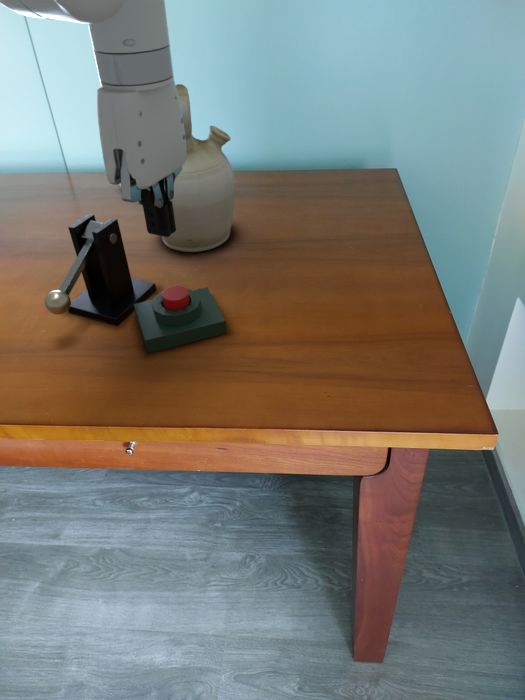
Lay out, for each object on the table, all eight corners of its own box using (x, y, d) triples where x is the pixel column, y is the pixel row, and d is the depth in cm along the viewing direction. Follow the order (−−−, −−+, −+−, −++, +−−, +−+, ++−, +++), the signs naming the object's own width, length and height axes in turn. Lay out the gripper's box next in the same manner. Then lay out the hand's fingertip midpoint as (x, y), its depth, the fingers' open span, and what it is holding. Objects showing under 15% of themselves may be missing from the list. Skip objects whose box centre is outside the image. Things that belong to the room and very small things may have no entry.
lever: (68, 321, 70) (54, 309, 67) (49, 315, 71) (35, 304, 68) (115, 235, 74) (104, 221, 71) (97, 232, 75) (85, 217, 72)
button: (166, 313, 70) (164, 303, 69) (161, 299, 73) (159, 289, 72) (192, 307, 71) (191, 297, 70) (186, 294, 74) (184, 283, 73)
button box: (147, 353, 70) (142, 329, 67) (136, 316, 76) (130, 293, 74) (226, 333, 73) (224, 309, 70) (208, 299, 79) (206, 276, 77)
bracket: (117, 325, 75) (96, 245, 67) (68, 312, 78) (41, 233, 70) (156, 289, 82) (141, 212, 74) (109, 278, 85) (90, 203, 77)
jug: (243, 216, 100) (234, 71, 84) (232, 258, 88) (219, 98, 72) (164, 216, 101) (140, 73, 85) (144, 257, 90) (111, 100, 74)
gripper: (146, 51, 60) (169, 204, 72) (55, 81, 50) (99, 254, 61) (203, 55, 57) (217, 213, 69) (121, 87, 47) (153, 267, 59)
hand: (162, 232), depth 65 cm, fingers closed
